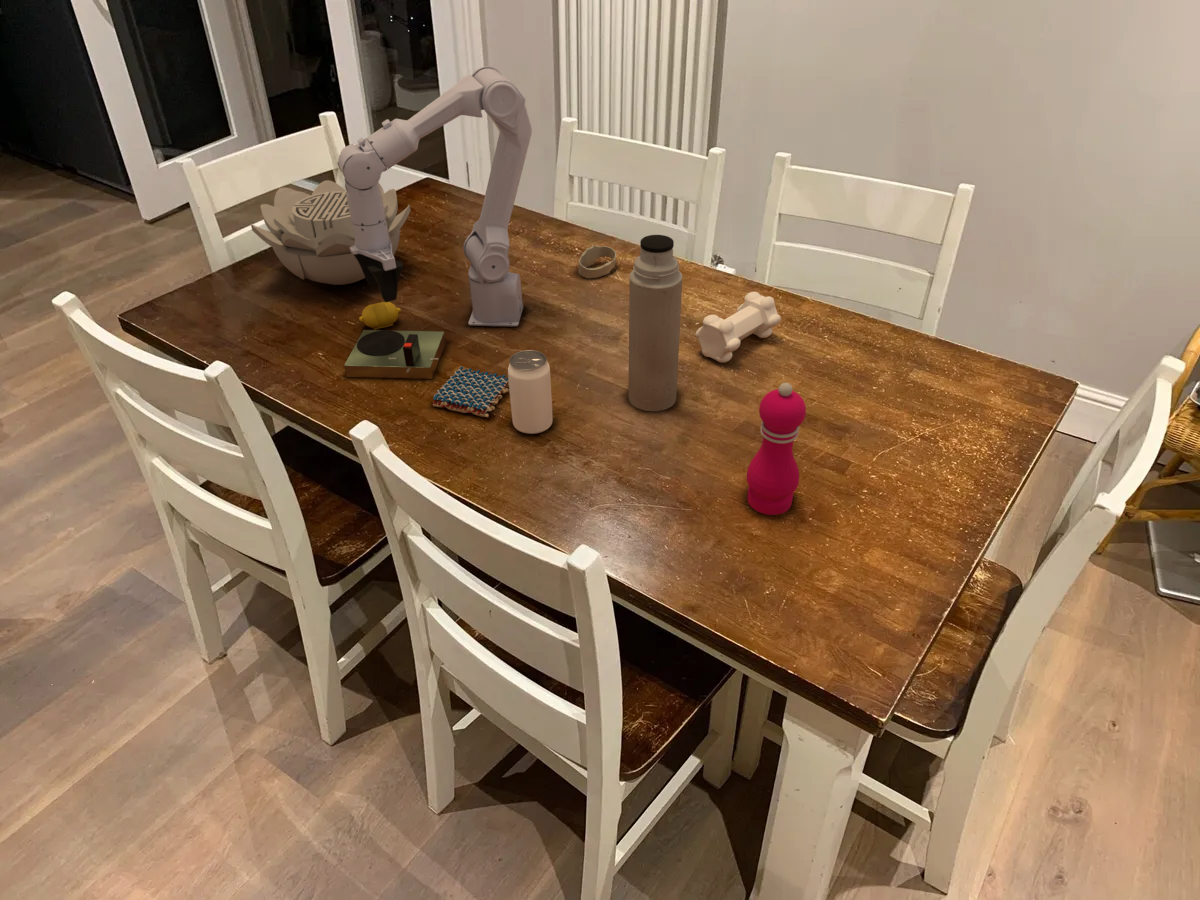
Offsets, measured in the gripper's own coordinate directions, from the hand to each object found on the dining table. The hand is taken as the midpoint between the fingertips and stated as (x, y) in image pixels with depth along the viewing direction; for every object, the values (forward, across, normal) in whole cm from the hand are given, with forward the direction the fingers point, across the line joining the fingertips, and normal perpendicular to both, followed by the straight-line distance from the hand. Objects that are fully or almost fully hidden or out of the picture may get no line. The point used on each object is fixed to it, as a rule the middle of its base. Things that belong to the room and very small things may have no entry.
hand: (382, 291), depth 154 cm
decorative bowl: (+10, -30, +3) cm, 31 cm away
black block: (+7, +13, -1) cm, 15 cm away
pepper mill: (+10, +73, +28) cm, 79 cm away
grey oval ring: (+10, -1, +46) cm, 47 cm away
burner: (+7, +5, -3) cm, 9 cm away
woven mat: (+10, +26, +4) cm, 28 cm away
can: (+10, +38, +9) cm, 40 cm away
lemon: (+9, -5, 0) cm, 11 cm away
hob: (+9, +9, -2) cm, 13 cm away
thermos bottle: (+10, +43, +29) cm, 53 cm away
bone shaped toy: (+10, +38, +51) cm, 64 cm away
